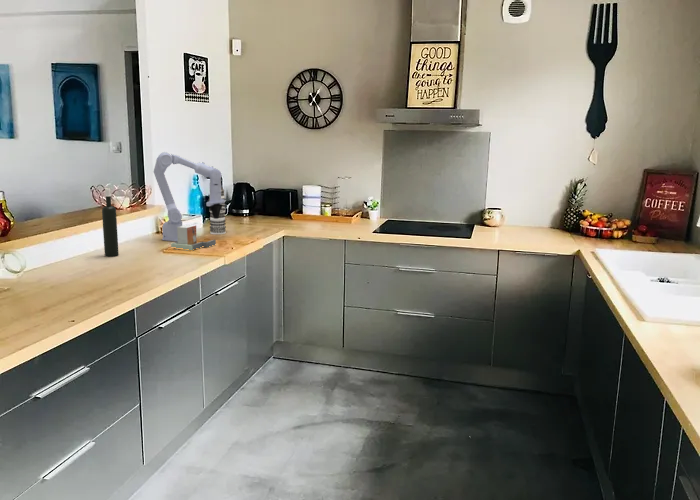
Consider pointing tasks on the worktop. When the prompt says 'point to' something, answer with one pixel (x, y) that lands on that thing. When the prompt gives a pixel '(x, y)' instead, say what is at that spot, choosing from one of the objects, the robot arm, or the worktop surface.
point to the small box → (187, 234)
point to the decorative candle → (219, 223)
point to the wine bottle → (110, 227)
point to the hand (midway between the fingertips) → (216, 218)
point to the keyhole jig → (194, 245)
